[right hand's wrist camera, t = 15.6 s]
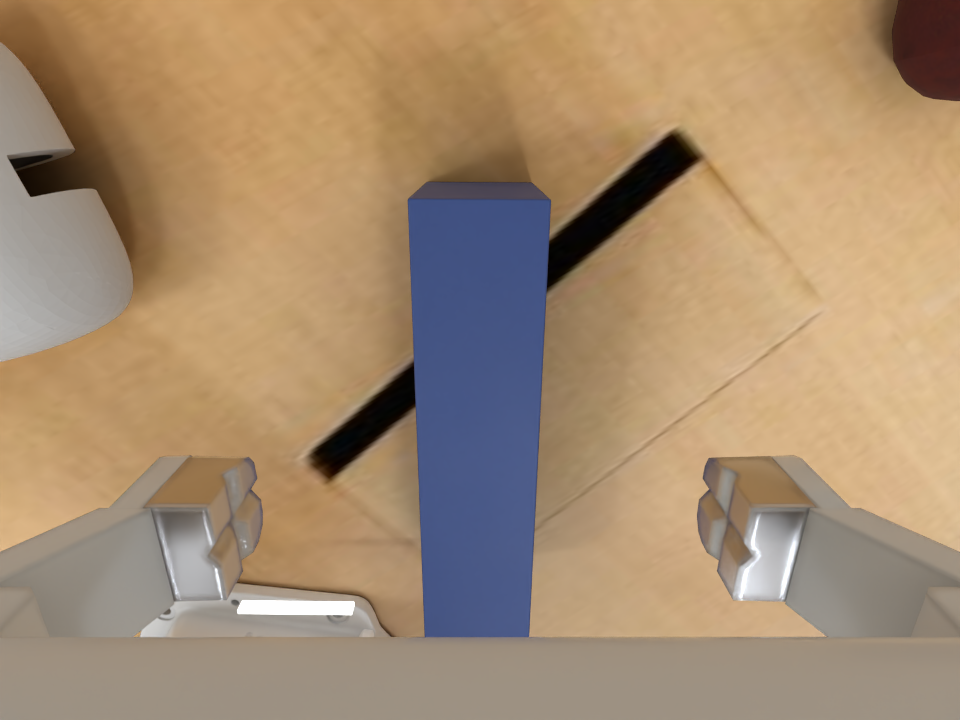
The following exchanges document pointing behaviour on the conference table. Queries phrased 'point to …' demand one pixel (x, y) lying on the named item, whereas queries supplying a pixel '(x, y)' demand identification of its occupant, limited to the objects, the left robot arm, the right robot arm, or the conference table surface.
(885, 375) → the conference table surface
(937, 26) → the potato
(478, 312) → the box
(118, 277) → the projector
